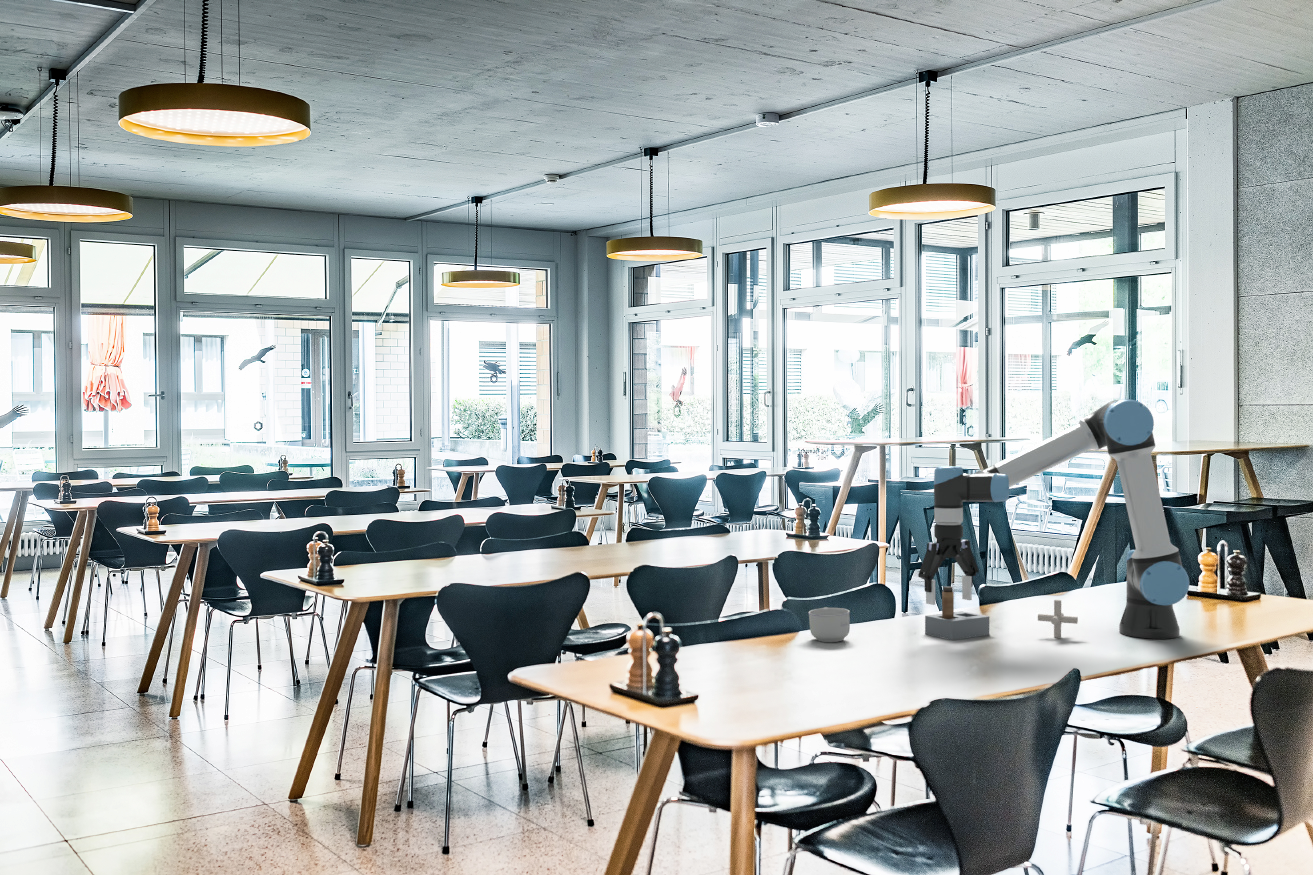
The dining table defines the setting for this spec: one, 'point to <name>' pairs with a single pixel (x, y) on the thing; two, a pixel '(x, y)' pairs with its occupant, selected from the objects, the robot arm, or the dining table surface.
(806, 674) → the dining table surface
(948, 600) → the peg
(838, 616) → the teacup
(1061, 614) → the pipe connector
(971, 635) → the holder block
